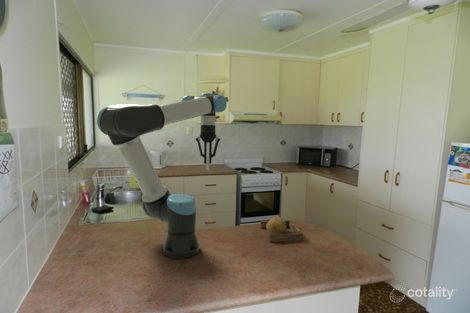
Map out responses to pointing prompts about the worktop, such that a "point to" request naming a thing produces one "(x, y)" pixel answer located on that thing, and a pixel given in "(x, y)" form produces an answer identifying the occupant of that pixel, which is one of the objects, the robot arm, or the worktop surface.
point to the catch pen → (294, 236)
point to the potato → (276, 225)
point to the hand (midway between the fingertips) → (207, 169)
